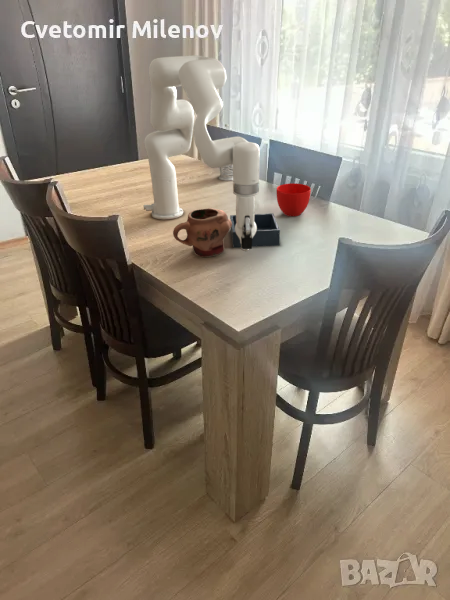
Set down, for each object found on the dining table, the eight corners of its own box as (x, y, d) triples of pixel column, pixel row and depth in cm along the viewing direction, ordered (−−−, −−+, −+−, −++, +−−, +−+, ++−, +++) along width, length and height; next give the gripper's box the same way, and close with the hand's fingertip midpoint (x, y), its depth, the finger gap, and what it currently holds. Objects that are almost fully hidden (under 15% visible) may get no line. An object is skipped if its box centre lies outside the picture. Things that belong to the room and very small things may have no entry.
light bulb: (234, 247, 142) (233, 214, 136) (254, 245, 143) (255, 213, 137) (236, 256, 137) (236, 223, 131) (257, 255, 137) (258, 221, 131)
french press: (238, 180, 214) (237, 125, 201) (214, 180, 214) (211, 126, 201) (238, 174, 222) (237, 121, 209) (215, 175, 223) (212, 122, 209)
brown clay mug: (186, 268, 137) (182, 226, 130) (168, 254, 146) (164, 214, 138) (240, 252, 146) (239, 211, 138) (220, 239, 155) (219, 201, 147)
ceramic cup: (313, 205, 180) (315, 181, 175) (305, 220, 167) (307, 195, 161) (282, 203, 184) (283, 179, 179) (272, 217, 170) (272, 192, 165)
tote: (233, 247, 148) (232, 232, 146) (230, 229, 162) (230, 215, 159) (279, 245, 149) (280, 230, 146) (273, 227, 162) (273, 213, 159)
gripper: (231, 178, 136) (232, 232, 146) (235, 198, 121) (235, 256, 131) (255, 178, 136) (254, 232, 146) (262, 197, 122) (260, 255, 131)
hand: (245, 243), depth 138 cm, fingers closed on light bulb, 6 cm apart
